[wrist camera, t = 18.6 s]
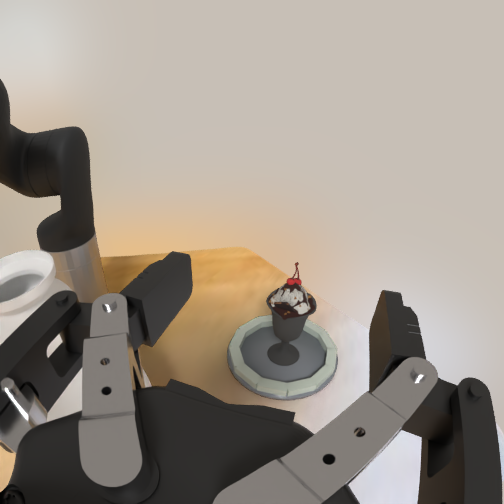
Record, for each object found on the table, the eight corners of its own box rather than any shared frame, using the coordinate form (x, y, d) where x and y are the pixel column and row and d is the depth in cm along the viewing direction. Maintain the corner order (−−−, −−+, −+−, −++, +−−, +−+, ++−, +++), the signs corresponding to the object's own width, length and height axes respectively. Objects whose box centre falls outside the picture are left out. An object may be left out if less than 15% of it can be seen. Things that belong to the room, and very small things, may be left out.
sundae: (291, 334, 49) (304, 253, 42) (312, 362, 43) (332, 279, 36) (254, 345, 46) (260, 261, 39) (273, 375, 41) (285, 290, 34)
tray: (240, 410, 36) (241, 403, 35) (218, 326, 50) (218, 319, 50) (355, 383, 40) (358, 376, 39) (312, 314, 54) (313, 306, 54)
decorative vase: (52, 510, 18) (-104, 370, 6) (40, 399, 32) (-37, 245, 20) (192, 488, 25) (136, 333, 14) (149, 379, 39) (112, 211, 27)
